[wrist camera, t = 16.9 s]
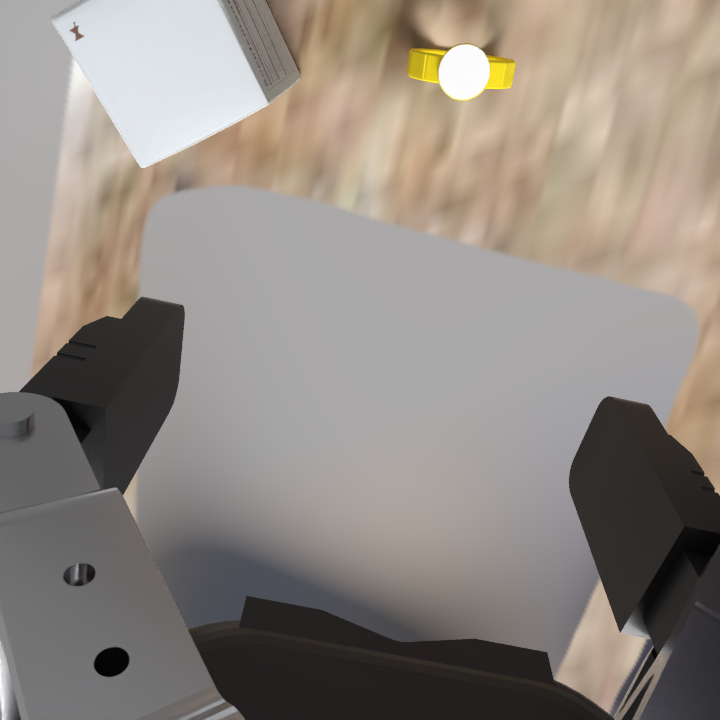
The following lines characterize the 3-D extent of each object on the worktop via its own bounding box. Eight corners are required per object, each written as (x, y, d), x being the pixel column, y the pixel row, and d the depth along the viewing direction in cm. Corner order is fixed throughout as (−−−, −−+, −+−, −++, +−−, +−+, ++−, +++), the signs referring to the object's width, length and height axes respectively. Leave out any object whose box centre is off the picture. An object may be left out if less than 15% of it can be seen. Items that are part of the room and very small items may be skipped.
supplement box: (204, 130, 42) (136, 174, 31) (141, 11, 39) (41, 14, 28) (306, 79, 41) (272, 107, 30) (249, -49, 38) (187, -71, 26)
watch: (407, 83, 41) (401, 93, 36) (413, 33, 39) (407, 37, 34) (504, 94, 40) (512, 107, 35) (513, 44, 39) (523, 50, 34)
